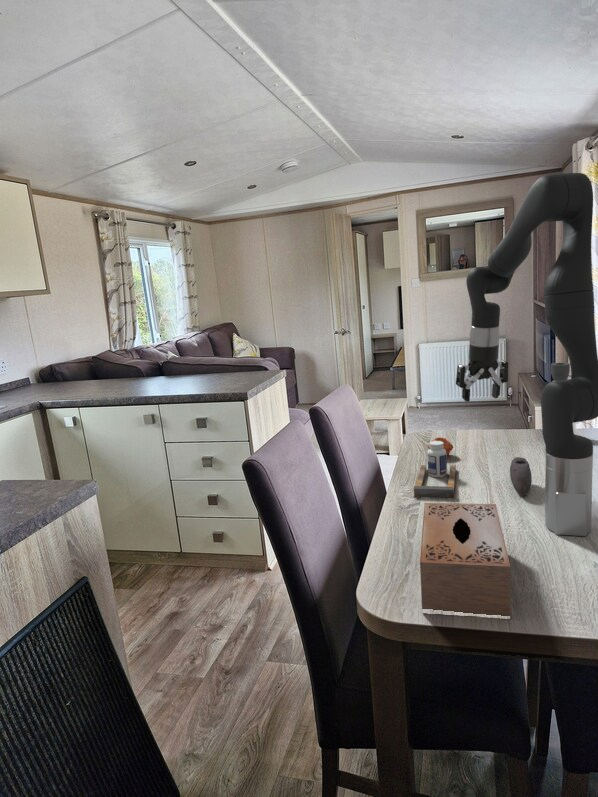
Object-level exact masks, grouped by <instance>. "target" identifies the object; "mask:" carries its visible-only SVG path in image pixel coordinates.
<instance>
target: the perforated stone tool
mask: <svg viewBox="0 0 598 797" xmlns="http://www.w3.org/2000/svg"><path fill="white" fill-rule="evenodd" d="M509 477H510V481H511V483H512V487H513V488H514V490H515V492H516V493H517V494H518V495H519V496H522V497H524V496H526V495H528V494H529V493H530V491H531V488H532V481H533V478H532V470H531V468H530V464H529V462H528V460H527V459H526V458H524V457H521V456H516V457H514V458H513V459H512V460H511V463H510V466H509Z"/></svg>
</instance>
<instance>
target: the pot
mask: <svg viewBox="0 0 598 797" xmlns="http://www.w3.org/2000/svg"><path fill="white" fill-rule="evenodd" d="M432 441H442V442H443V443H444V448H443V449H445V450H446V457H449V455H450V453H451V452H452V451H453V449H454V446H453V444H452V443H451V441H449V440H448V439H447V438H446V437H436V438H434V439H433V440H431V441H430V442H432ZM427 449H428V450H429V449H430V447H429V443H428V445H427Z"/></svg>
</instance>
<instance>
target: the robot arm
mask: <svg viewBox="0 0 598 797" xmlns="http://www.w3.org/2000/svg"><path fill="white" fill-rule="evenodd" d="M593 211H594V190H593V184H592V181H591V180H590V178H589V176H588V175H587V174H585V173H582V172H564V173H551V174H550V173H549V174H545V175H542V176H540V177H538V179H537V180H535V181H534V183H533V184H532V186H531V187H530V189H529V190H528V192H527V194H526V196H525V198H524V199H523V201H522V204H521V206H520V207H519V209H518V211H517V213H516V215H515V218H514V219H513V221H512V223H511V225H510V227H509V229H508V231H507V232H506V234H505V235H504V237H503V238H502V239H501V241H500V242H499V243H498V244H497V246H496V247H495V248H494V249H493V251H492V252H491V253H490V255H489V257H488V260H487V265H484V266H476V267H473V268H471V269H470V271H469V272H468V273H467V275H466V282H465V283H466V289H467V293H468V297H469V301H470V306H471V324H470V330H469V331H470V332H469V344H468V345H469V346H468V347H469V348H468V349H469V350H468V360H469V361H468V364H467V365H465V364H464V365H463V364H460V363H459V364H458V365H457V366H456V379H455V385H456V386H457V387H458V388H461V389H462V392H461V398H462V399H463V401H465V402H466V403H468V402H470V401H471V399H470V398H471V389H470V388H471V387H472V386H473V384H475V383H476V382H477V380H478V381H480V380H489V379H491V381H492V382H493V383H492V386H491V397H492V398H494V399H498V398H499V397H500V395H501V386H502V384H504V383H508V382H509V362H508V361H506V360H505V359H504V360H503V359H501V360H498V359H499V348H500V347H499V346H500V334H501V333H500V317H501V306H500V304H498V303H496V302H491V301H487V300H486V297H485V295H489V294H491V295H492V294H499V293H502V292H504V291H505V290H507V289H508V287H509V286H510V284H511V281H512V279H513V276H514V274H515V271H517V269H518V268H519V267H520V266H521V264H523V262H524V261H525V260H526V259H527V257H528V256H529V255H530V252H531V249H532V246H533V244H532V243H533V242H532V239H533V238H532V233H533V231H534V230H536V229H537V228H538V227H539V226H540V225H542V224H543V223H545V222H551V223H552V222H562V245H561V248H560V251H559V254H558V257H557V258H556V261H555V263H554V264H553V266H552V268H551V270H550V272H549V274H548V276H547V279H546V281H545V284H544V289H543V290H544V292H543V295H544V296H543V298H544V311H545V312H544V313H545V314H544V315H545V320H546V322H547V325H548V326H549V328H550V329H551V331H552V332H553V334H554V335H555V336H556V338H557V340H558V341H559V342H560V344H561V346H563V348H564V350H565V352H566V355H567V357H568V360H569V364H570V374H571V377H570V378H569V379H568V378H567V379H566V380H560V381H554V382H552V381H551V382H549V383H547V384H546V385H544V387H543V390H542V393H541V397H540V398H541V399H540V406H541V407H540V408H541V410H540V411H541V425H542V426H541V427H542V437H543V438H542V439H543V442H544V445H545V446H544V447H545V468H544V470H545V475H544V476H545V477H544V478H545V479H544V480H545V481H544V483H545V484H544V486H545V487H544V488H545V495H544V496H545V497H544V498H545V499H544V502H545V503H544V510H545V511H544V523H545V527H546V529H548V530H549V531H552V532H553V533H554V534H555V535H557V536H558V535H559V536H561V535H562V536H577V537H578V536H579V537H581V536H582V537H587V536H588V533H590V532H591V531H592V516H593V512H592V510H593V509H592V508H593V507H592V504H593V502H592V501H593V466H594V444H593V441H592V439H590V438H587V437H586V436H584V435H583V436H582V435H579V434H575V433H574V424H573V423H580V422H581V423H582V422H586V421H591V420H595V419H597V418H598V350H597V349H598V348H597V340H596V327H595V326H596V324H595V296H594V294H595V293H594V283H593V268H592V266H593V265H592V234H593V233H592V231H593V216H594V214H593V213H594V212H593ZM497 369H499V370H498V372H499V374H497V373H496V371H497ZM468 371H469V372H468ZM466 374H467V375H466Z"/></svg>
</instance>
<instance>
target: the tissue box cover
mask: <svg viewBox="0 0 598 797" xmlns="http://www.w3.org/2000/svg"><path fill="white" fill-rule="evenodd" d="M422 517H423V518H422V519H423V520H422V529H421V530H422V532H421V543H420V544H421V545H420V558H419V570H420V572H419V573H420V592H421V593H420V594H421V610H422V609H433V610H443V611H454V612H463V613H473V614H486V615H501V616H511V617H512V611H511V610H512V609H511V608H512V607H511V605H512V604H511V603H512V601H511V600H512V599H511V598H512V597H511V593H512V592H511V563H510V559H509V555H508V550H507V546H506V542H505V538H504V533H503V530H502V525H501V522H500V516H499V512H498V509H497V504H496V503H453V502H449V503H448V502H424V505H423V516H422Z"/></svg>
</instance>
